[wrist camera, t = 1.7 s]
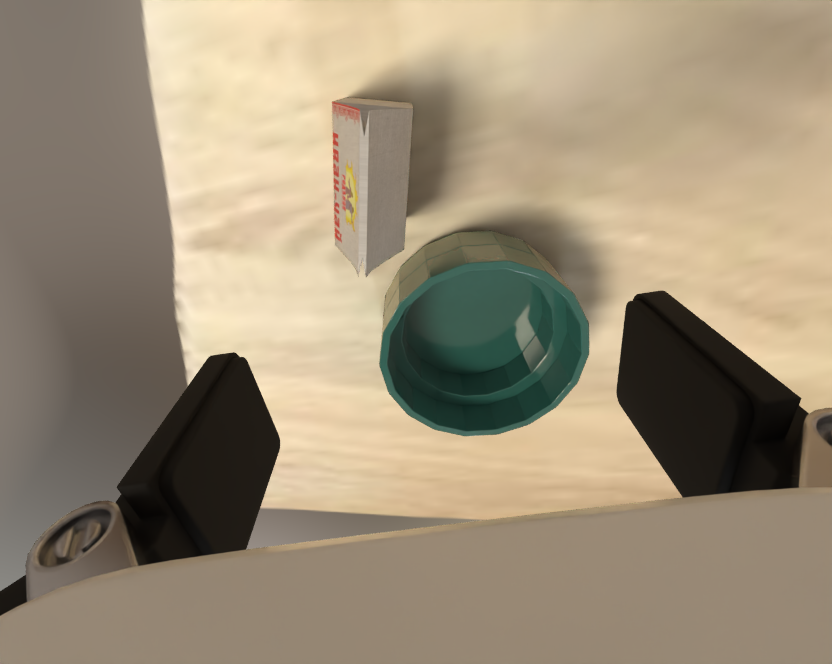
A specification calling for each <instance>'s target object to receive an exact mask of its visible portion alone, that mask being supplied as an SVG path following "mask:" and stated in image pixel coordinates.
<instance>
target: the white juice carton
mask: <svg viewBox="0 0 832 664" xmlns="http://www.w3.org/2000/svg"><path fill="white" fill-rule="evenodd" d="M332 115H333V165H334V215H335V245H336V246H337V248H338V249H339V250H340V251H341V252H342V253H343V254H344V255H345V256H346V257H347V258H348V260H349V261H350V262H351V263H352V265H353V266H354V268H355V269H356V271H357V274H358V276H359V272H360V267H361V263H362V259H363V264H364V269H365V275H366V277H367V276H368V275H369V273H370V272H371V271H372V270H374V269H375V268H376V267H377V266H379V265H380V264H381V263H383V262H385V261H386V260H388V259H389V258H391V257H393V256H394V255H396V254H398V253H399V252H401V251H402V250H404V242H405V226H406V211H407V196H408V181H409V165H410V150H411V135H412V120H413V107H412V104H411V103H407V102H396V101H384V100H372V99H361V98H349V97H347V98H343V99H340V100H336V101H333V102H332Z"/></svg>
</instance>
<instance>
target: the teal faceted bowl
mask: <svg viewBox="0 0 832 664" xmlns="http://www.w3.org/2000/svg"><path fill="white" fill-rule="evenodd" d="M588 355H589V323H588V320H587V318H586V316H585V314H584V312H583V310H582V308H581V306H580V304H579V302H578V300H577V298H576V296H575V294H574V293H573V292H572V290H571V289H570V288H569V287H568V285H567V284H566V283H565V282H564V280H563V279H562V278H561V277H560V275H559V274H558V273H557V272H556V270H555V269H554V268H553V267H552V265H551V264H550V263H549V262H548V260H547V259H546V258H544V257H543V256H542V255H541V254H539V253H538V252H537V251H536V250H535V249H533V248H532V247H531V246H530V245H528V244H527V243H526V242H525V241H523V240H520V239H517V238H514V237H510V236H507V235H504V234H501V233H497V232H494V231H474V232H457V233H454V234H452V235H450V236H447V237H445V238H442V239H440V240H437V241H435V242H433V243H430V244H428V245H426V246H424V247H423V248H422V249H420V250H419V251H418V252H417V253H416V254H415V255H414V256H413V257H411V258H410V259H409V260H408V261H407V262H406V263H405V264H404V265H402V266H401V267H400V269H399V271H398V272H397V274H396V276H395V278H394V280H393V282H392V284H391V286H390V288H389V290H388V292H387V293H386V297H385V307H384V316H383V327H382V339H381V351H380V362H379V364H380V368H381V371H382V374H383V377H384V380H385V383H386V386H387V390H388V392H389V394H390V395H391V396H392V397H393V398H394V400H395V401H396V402H397V403H398V404H399V405H400V406H401V408H402V409H403V410H404V411H405V412H406V413H407V414H408V415H409V416H411V417H412V418H414V419H416V420H418V421H420V422H421V423H423V424H425V425H427V426H429V427H430V428H432V429H435V430H438V431H443V432H447V433H452V434H457V435H461V436H479V435H497V434H501V433H504V432H507V431H510V430H513V429H517V428H520V427H523V426H526V425H528V424H531V423H532V422H534V421H535V420H537V419H538V418H540V417H542V416H543V415H545V414H546V413H548V412H550V411H551V410H553V409H554V408H556V407H557V406H558V405H559V404H560V402H561V401H562V400H563V399H564V398H565V397H566V396H567V394H568V393H569V392H570V391H571V390H572V389H573V387H574V386H575V385H576V384H577V382H578V381H579V378H580V376H581V373H582V371H583V368H584V366H585V363H586V360H587V358H588Z"/></svg>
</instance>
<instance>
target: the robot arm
mask: <svg viewBox="0 0 832 664" xmlns="http://www.w3.org/2000/svg"><path fill="white" fill-rule="evenodd" d="M617 398H618V401H619V404H620V405H621V407H622V408H623V410H624V411H625V413H626V414H627V416H628V417H629V419H630V420H631V422H632V423H633V425H634V426H635V428H636V429H637V431H638V432H639V434H640V435H641V436H642V438H643V439H644V441H645V442H646V444H647V445H648V447H649V448H650V450H651V451H652V453H653V454H654V456H655V457H656V459H657V460H658V461H659V463H660V464H661V466H662V467H663V469H664V470H665V472H666V473H667V475H668V476H669V478H670V479H671V481H672V482H673V484H674V485H675V487H676V488H677V489H678V491H679V492H680V494H681V495H682V497H683V498H674V499H664V500H655V501H646V502H638V503H629V504H620V505H611V506H603V507H594V508H585V509H576V510H568V511H559V512H550V513H541V514H532V515H524V516H516V517H507V518H499V519H490V520H482V521H474V522H465V523H457V524H449V525H440V526H432V527H424V528H415V529H408V530H399V531H391V532H383V533H374V534H366V535H358V536H351V537H342V538H335V539H326V540H318V541H310V542H302V543H295V544H287V545H278V546H271V547H263V548H255V549H247V550H246V548H247V545H248V542H249V539H250V536H251V533H252V530H253V527H254V524H255V521H256V518H257V515H258V512H259V509H260V506H261V503H262V500H263V497H264V494H265V491H266V488H267V485H268V482H269V479H270V477H271V474H272V471H273V468H274V465H275V462H276V459H277V456H278V453H279V449H280V438H279V435H278V432H277V430H276V428H275V425H274V423H273V421H272V418H271V416H270V414H269V411H268V409H267V407H266V404H265V402H264V399H263V397H262V395H261V392H260V390H259V388H258V385H257V383H256V381H255V378H254V376H253V374H252V371H251V369H250V367H249V364H248V362H247V360H246V359H245V358H244V357H239V356H238V355H237V354H236V353H227V354H220V355H213V356H210V357H209V358H208V359H207V360H206V362H205V363H204V365H203V366H202V367H201V369H200V370H199V372H198V373H197V374H196V376H195V377H194V379H193V380H192V381H191V383H190V384H189V386H188V387H187V389H186V390H185V391H184V393H183V394H182V396H181V397H180V398H179V400H178V401H177V403H176V404H175V405H174V407H173V408H172V410H171V411H170V412H169V414H168V415H167V417H166V418H165V420H164V421H163V422H162V424H161V425H160V427H159V428H158V430H157V431H156V432H155V434H154V435H153V436H152V438H151V439H150V441H149V442H148V444H147V445H146V447H145V448H144V449H143V451H142V452H141V453H140V455H139V456H138V458H137V459H136V460H135V462H134V463H133V465H132V466H131V467H130V469H129V470H128V472H127V473H126V475H125V476H124V477H123V479H122V480H121V482H120V483H119V484H118V486H117V488H118V490H119V491H120V493H121V495H120V497H119V498H118V500H117V501H116V503H114V502H110V501H98V502H94V503H90V504H87V505H84V506H82V507H80V508H78V509H76V510H73V511H71V512H70V513H68V514H67V515H65V516H64V517H62V518H61V519H59V520H58V521H56V522H55V523H54V524H53V525H52V526H51V527H49V528H48V529H47V530H46V531H45V532H44V533H43V534H42V535H41V536H40V538H39V539H38V540H37V541H36V542H35V543H34V545H33V547H32V548H31V550H30V552H29V553H28V556H27V561H26V575H25V576H23V577H22V578H20V579H19V580H17V581H16V582H14V583H13V584H11V585H10V586H8V587H6V588H5V589H3V590H2V591H0V664H832V408H824V409H819V410H815V411H813V412H811V413H810V414H809V413H807V412H806V411H805V410H804V409H803V408H801V407H800V406H799V403H800V400H801V398H800V397H799V396H798V395H796V394H795V393H794V392H792V391H791V390H790V389H789V388H787V387H786V386H785V385H784V384H782V383H781V382H780V381H778V380H777V379H776V378H775V377H773V376H772V375H771V374H770V373H768V372H767V371H766V370H765V369H763V368H762V367H761V366H759V365H758V364H757V363H756V362H754V361H753V360H752V359H751V358H749V357H748V356H747V355H745V354H744V353H743V352H742V351H740V350H739V349H738V348H737V347H735V346H734V345H733V344H731V343H730V342H729V341H728V340H726V339H725V338H724V337H723V336H721V335H720V334H719V333H718V332H716V331H715V330H714V329H712V328H711V327H710V326H709V325H707V324H706V323H705V322H704V321H702V320H701V319H700V318H698V317H697V316H696V315H695V314H693V313H692V312H691V311H690V310H688V309H687V308H686V307H684V306H683V305H682V304H681V303H679V302H678V301H677V300H676V299H674V298H673V297H672V296H671V295H669V294H668V293H667V292H665V291H656V292H649V293H642V294H637V295H636V296H635V297H634V299H633V301H629V302H628V303H627V305H626V311H625V320H624V329H623V338H622V347H621V356H620V365H619V374H618V383H617Z"/></svg>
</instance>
